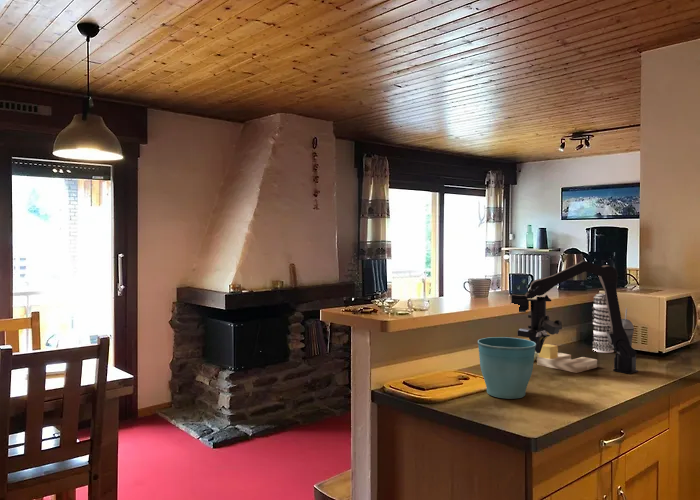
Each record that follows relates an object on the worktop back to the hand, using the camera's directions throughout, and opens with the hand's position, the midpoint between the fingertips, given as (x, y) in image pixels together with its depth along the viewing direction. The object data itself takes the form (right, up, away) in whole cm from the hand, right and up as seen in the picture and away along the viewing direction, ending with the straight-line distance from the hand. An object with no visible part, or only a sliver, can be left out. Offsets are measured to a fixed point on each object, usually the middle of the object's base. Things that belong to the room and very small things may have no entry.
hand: (538, 352), depth 217 cm
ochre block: (+5, -2, +4) cm, 7 cm away
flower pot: (-22, -7, -36) cm, 43 cm away
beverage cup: (+42, -5, +19) cm, 47 cm away
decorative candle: (+38, -5, +30) cm, 49 cm away
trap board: (+9, -5, +6) cm, 12 cm away
